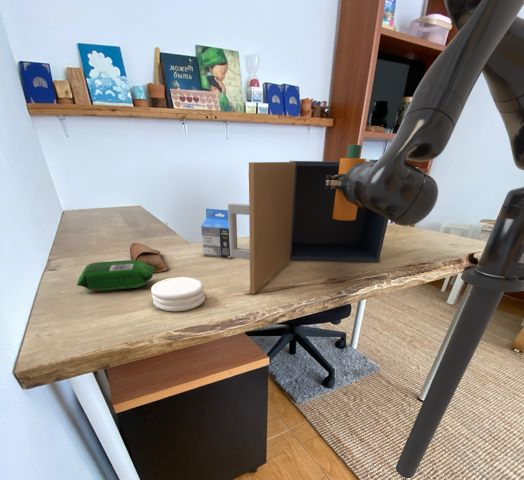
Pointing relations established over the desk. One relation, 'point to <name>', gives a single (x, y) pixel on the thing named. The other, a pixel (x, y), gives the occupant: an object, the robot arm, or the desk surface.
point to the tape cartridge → (216, 234)
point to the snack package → (115, 275)
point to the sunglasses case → (147, 256)
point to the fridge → (330, 221)
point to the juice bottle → (341, 205)
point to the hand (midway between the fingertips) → (347, 181)
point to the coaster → (178, 294)
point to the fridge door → (265, 220)
